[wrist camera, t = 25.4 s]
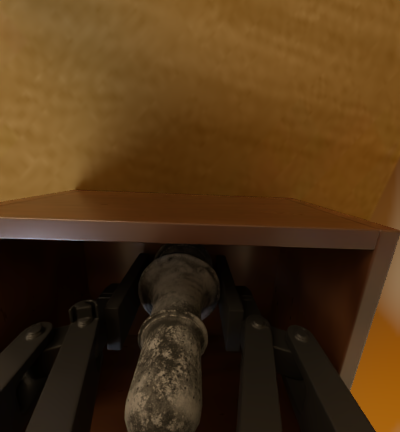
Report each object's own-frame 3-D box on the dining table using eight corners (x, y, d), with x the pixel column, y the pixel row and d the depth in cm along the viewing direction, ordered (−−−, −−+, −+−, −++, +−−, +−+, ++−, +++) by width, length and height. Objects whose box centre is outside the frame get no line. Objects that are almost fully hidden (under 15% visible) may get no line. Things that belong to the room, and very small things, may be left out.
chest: (73, 189, 16) (-78, 214, 7) (292, 198, 16) (402, 230, 8) (91, 333, 19) (5, 466, 11) (270, 335, 20) (327, 464, 11)
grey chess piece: (223, 243, 16) (294, 436, 4) (206, 300, 18) (227, 560, 6) (156, 228, 16) (43, 398, 4) (144, 287, 17) (34, 542, 5)
